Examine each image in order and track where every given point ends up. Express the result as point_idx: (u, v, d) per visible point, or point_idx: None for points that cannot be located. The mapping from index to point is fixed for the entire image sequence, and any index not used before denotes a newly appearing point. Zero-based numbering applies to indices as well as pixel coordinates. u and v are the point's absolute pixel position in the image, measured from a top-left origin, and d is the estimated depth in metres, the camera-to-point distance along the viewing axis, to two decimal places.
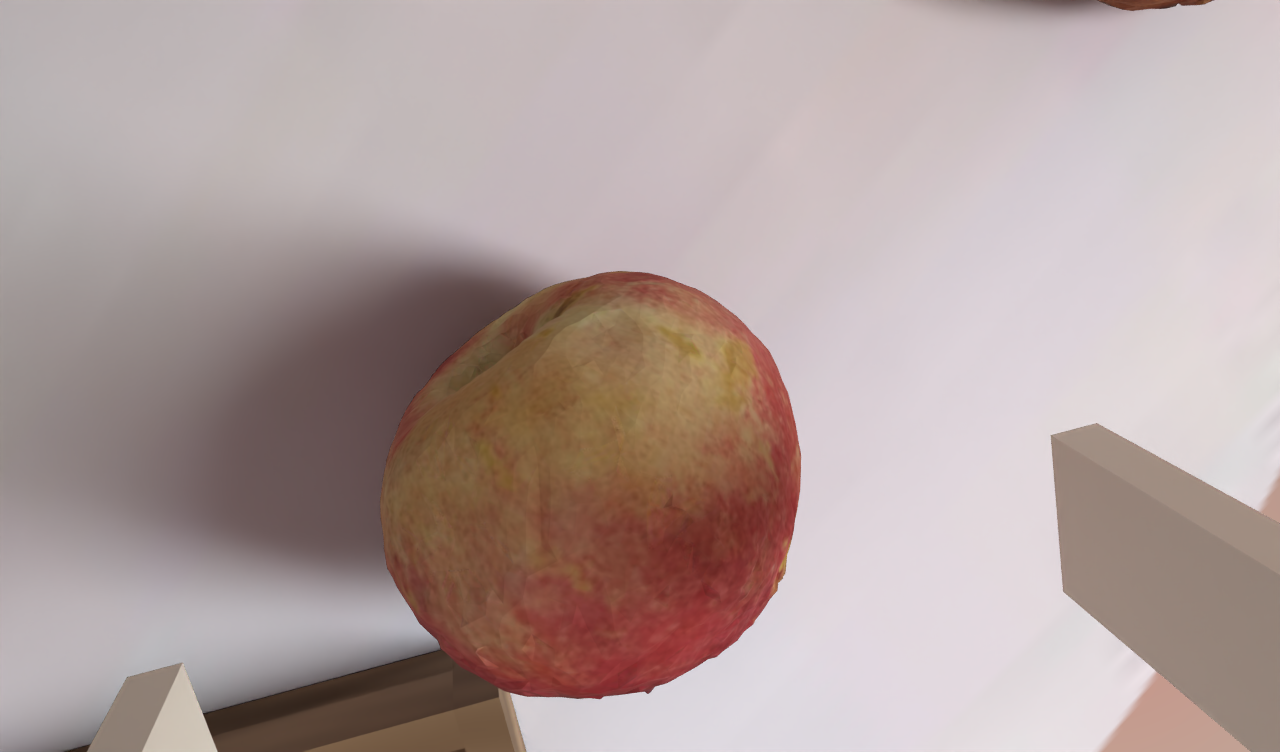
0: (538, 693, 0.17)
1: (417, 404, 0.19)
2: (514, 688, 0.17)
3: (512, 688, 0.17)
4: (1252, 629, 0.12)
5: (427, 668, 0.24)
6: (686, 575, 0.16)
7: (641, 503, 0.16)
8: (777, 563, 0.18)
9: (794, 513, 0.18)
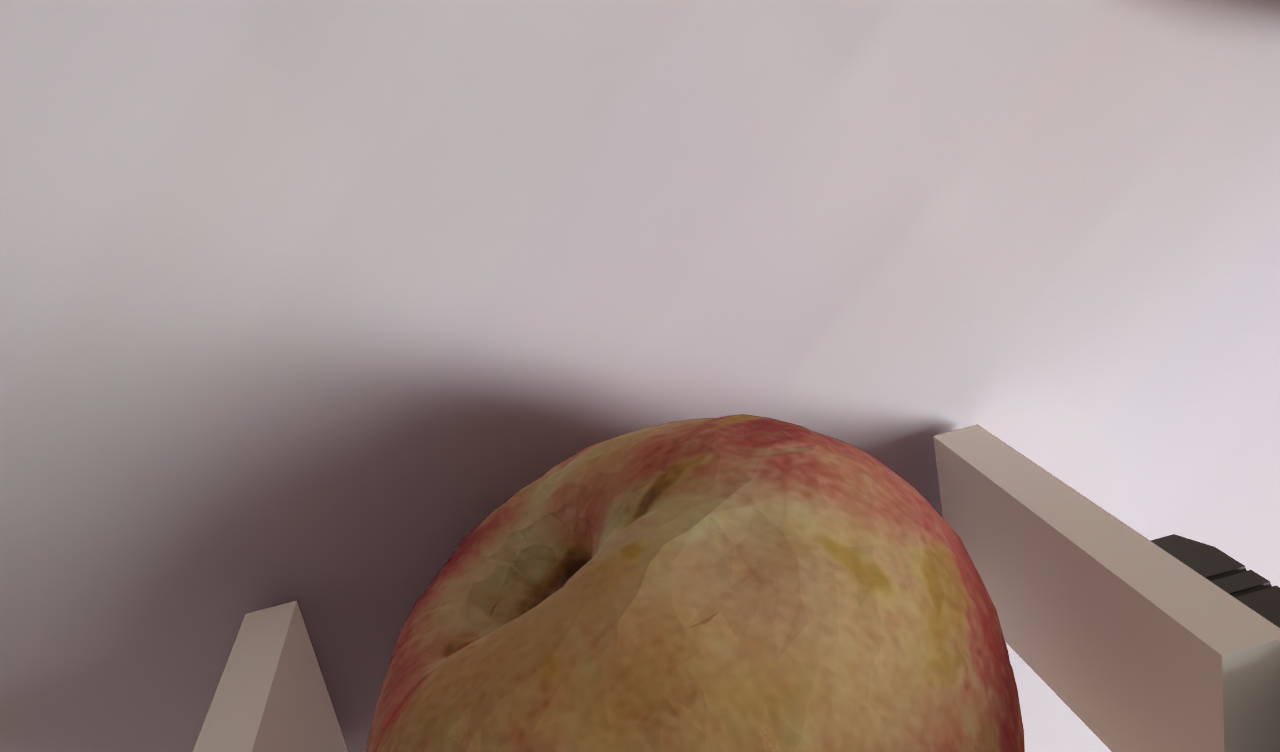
0: None
1: (419, 628, 0.12)
2: None
3: None
4: (1088, 618, 0.13)
5: None
6: None
7: None
8: None
9: None
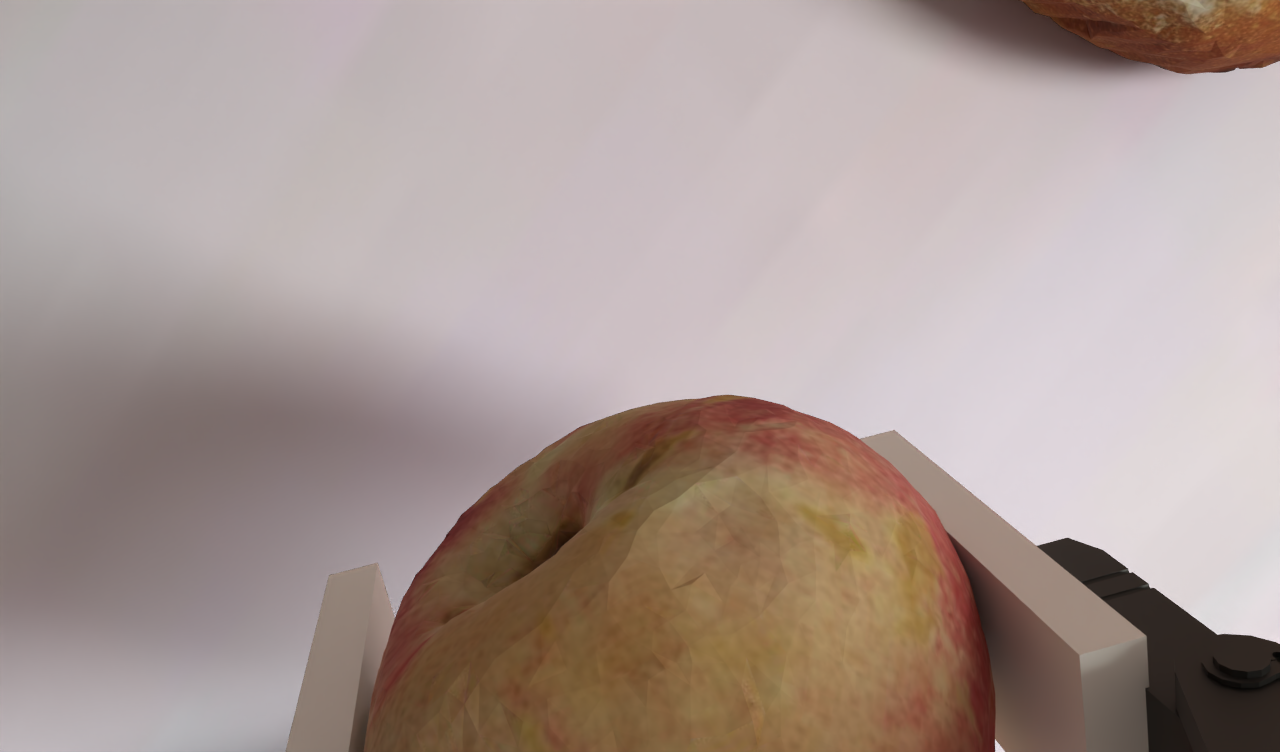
0: None
1: (419, 599, 0.13)
2: None
3: None
4: None
5: None
6: None
7: None
8: None
9: None
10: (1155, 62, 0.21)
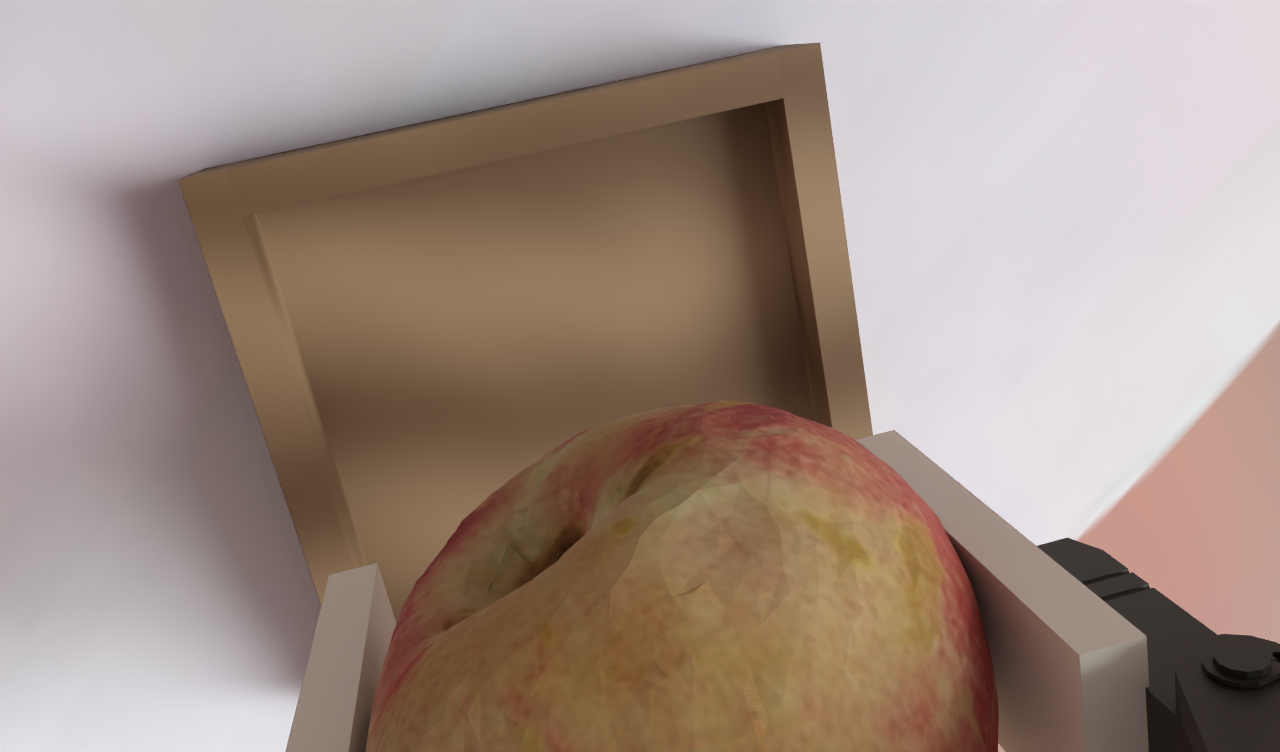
0: None
1: (420, 605, 0.13)
2: None
3: None
4: None
5: (729, 58, 0.25)
6: None
7: None
8: None
9: None
10: None
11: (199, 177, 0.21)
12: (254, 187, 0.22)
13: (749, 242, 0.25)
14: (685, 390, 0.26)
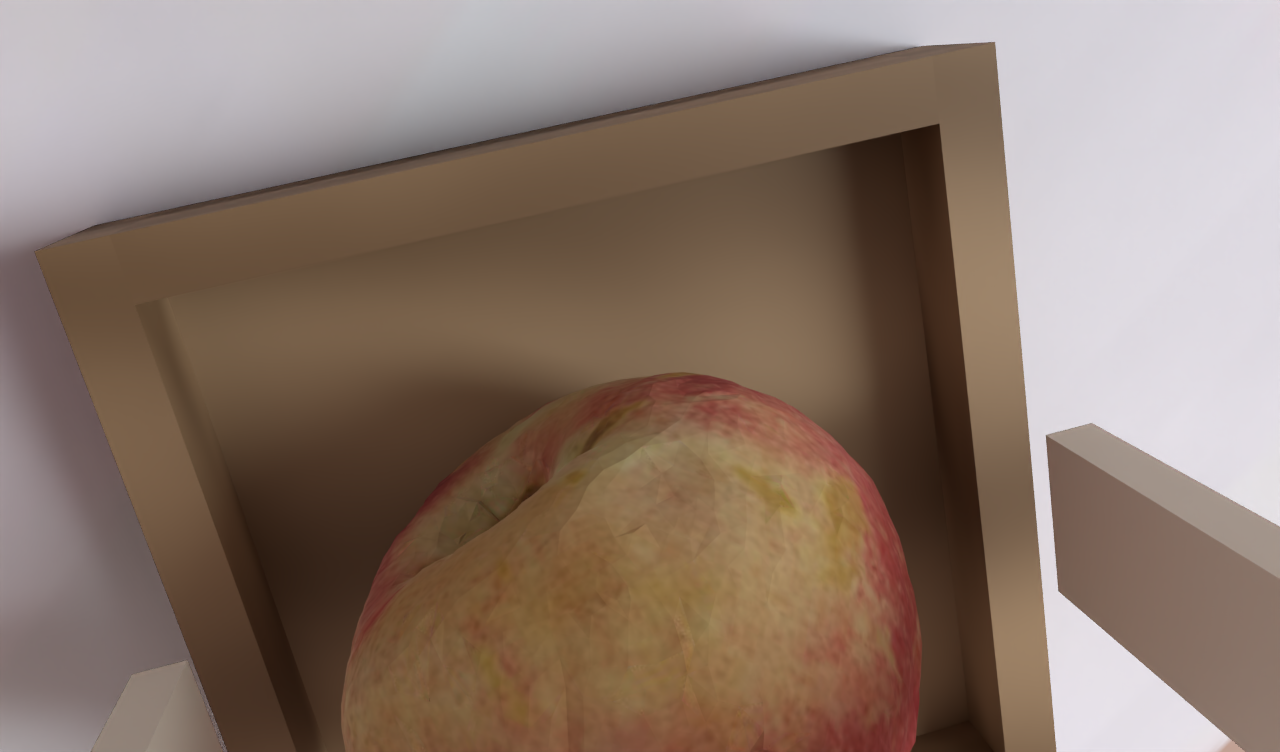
0: None
1: (397, 555, 0.14)
2: None
3: None
4: (1245, 628, 0.12)
5: (849, 64, 0.17)
6: None
7: (718, 746, 0.10)
8: None
9: (916, 715, 0.13)
10: None
11: (67, 247, 0.14)
12: (153, 261, 0.14)
13: (871, 323, 0.18)
14: None
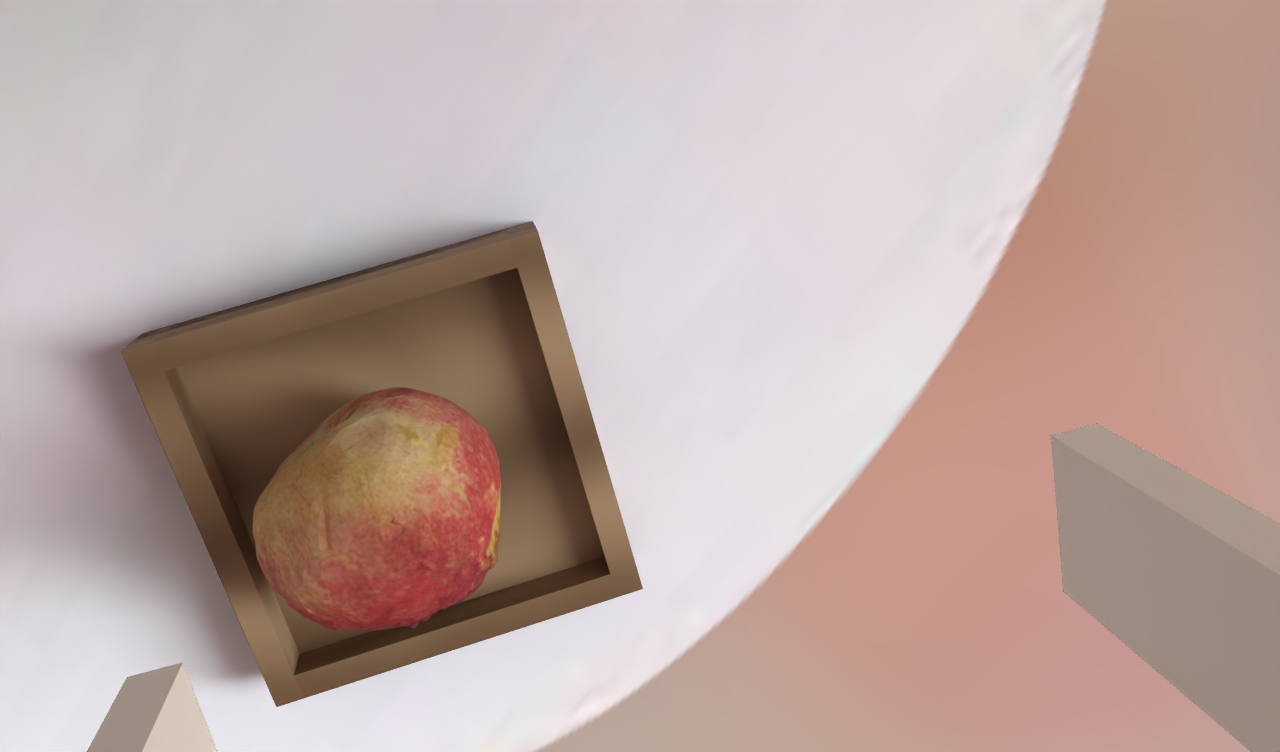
0: (343, 628, 0.32)
1: (278, 470, 0.33)
2: (329, 625, 0.31)
3: (328, 625, 0.31)
4: (1252, 629, 0.12)
5: (490, 236, 0.36)
6: (408, 558, 0.30)
7: (377, 521, 0.30)
8: (476, 550, 0.32)
9: (488, 522, 0.32)
10: None
11: (134, 348, 0.34)
12: (170, 352, 0.34)
13: (517, 356, 0.37)
14: None
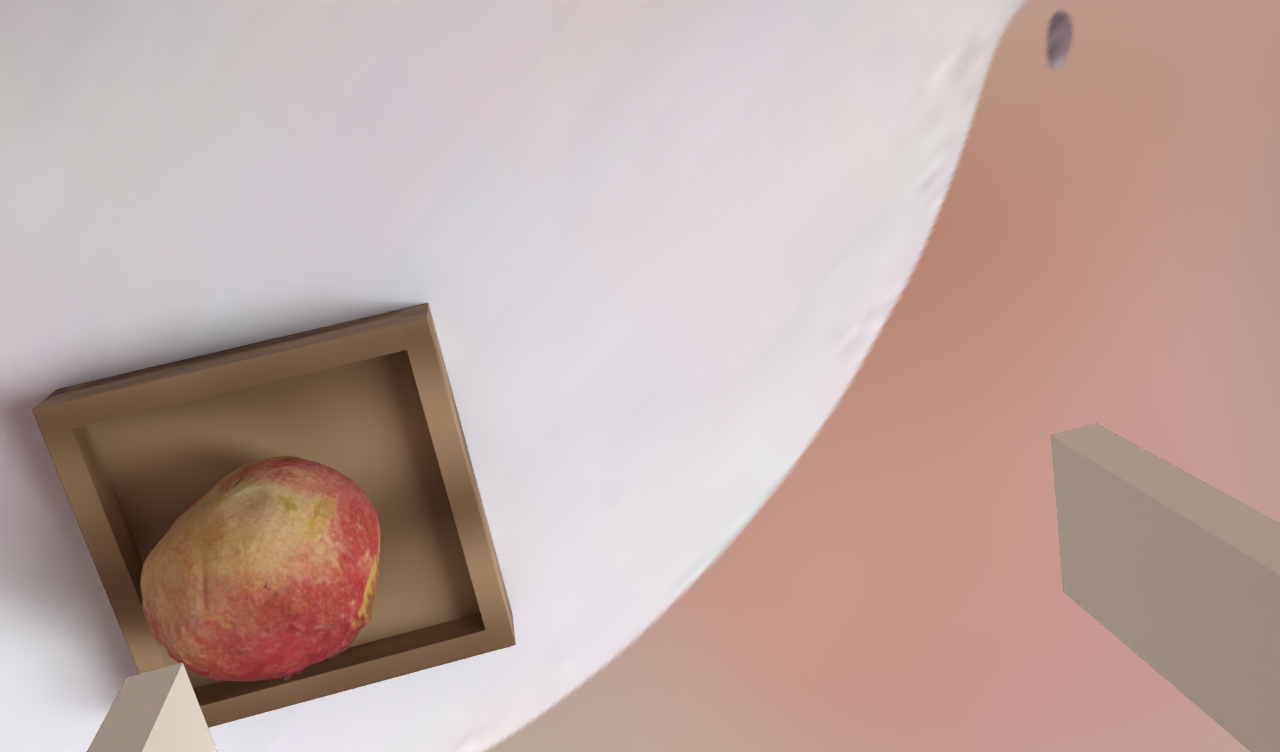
0: (219, 678, 0.35)
1: (171, 527, 0.36)
2: (205, 675, 0.34)
3: (205, 675, 0.34)
4: (1252, 629, 0.12)
5: (386, 316, 0.39)
6: (279, 620, 0.33)
7: (251, 586, 0.33)
8: (347, 613, 0.35)
9: (360, 586, 0.36)
10: None
11: (44, 408, 0.36)
12: (78, 412, 0.37)
13: (407, 426, 0.40)
14: None
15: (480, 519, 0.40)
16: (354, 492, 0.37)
